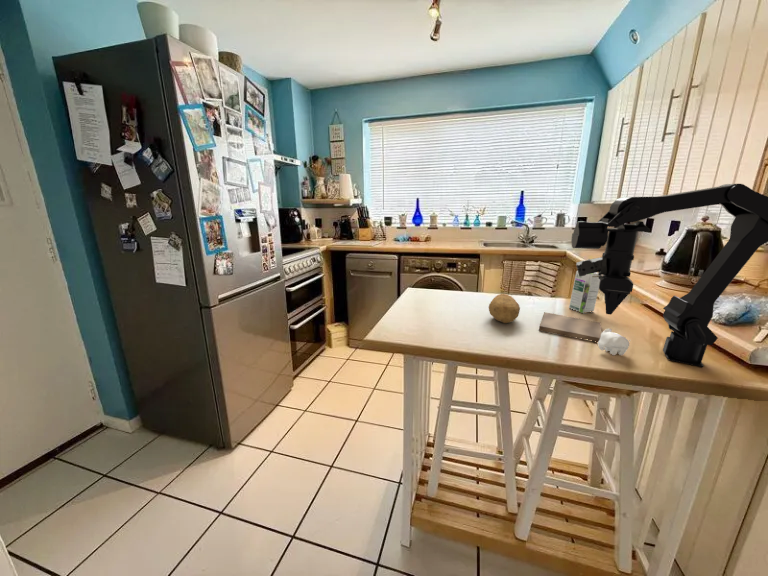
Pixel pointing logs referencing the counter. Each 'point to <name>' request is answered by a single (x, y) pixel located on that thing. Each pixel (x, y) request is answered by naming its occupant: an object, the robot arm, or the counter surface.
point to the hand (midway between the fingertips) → (607, 308)
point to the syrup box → (585, 292)
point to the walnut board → (571, 326)
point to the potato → (504, 308)
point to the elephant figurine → (613, 342)
